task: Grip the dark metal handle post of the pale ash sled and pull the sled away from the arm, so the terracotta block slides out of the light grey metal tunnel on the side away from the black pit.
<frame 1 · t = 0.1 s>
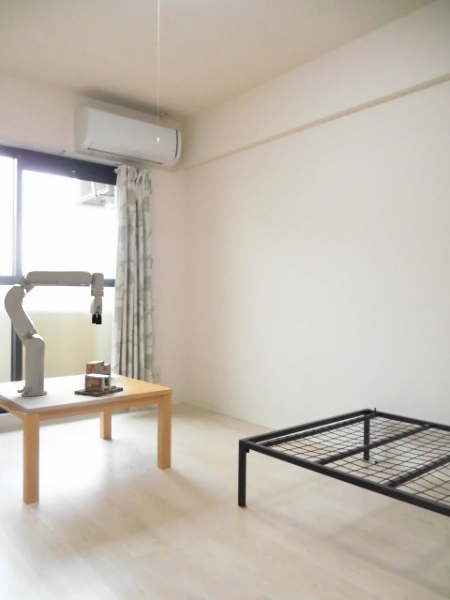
hand: (96, 324, 270), 37 cm above the table, tool pointing down, fingers open, 9 cm apart
tunnel: (97, 382, 260), on the track board, point 5 cm above the table
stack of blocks: (98, 380, 299), on the table
sled: (101, 381, 264), point 6 cm above the table, slide at 0.0 cm
track board: (97, 392, 260), on the table
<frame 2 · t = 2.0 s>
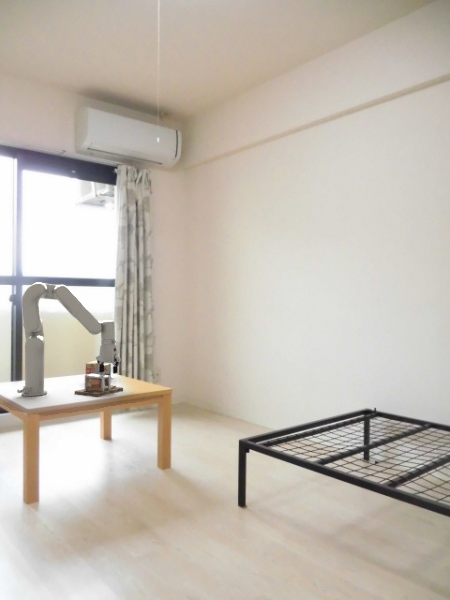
hand: (108, 372, 268), 10 cm above the table, tool pointing down, fingers open, 9 cm apart
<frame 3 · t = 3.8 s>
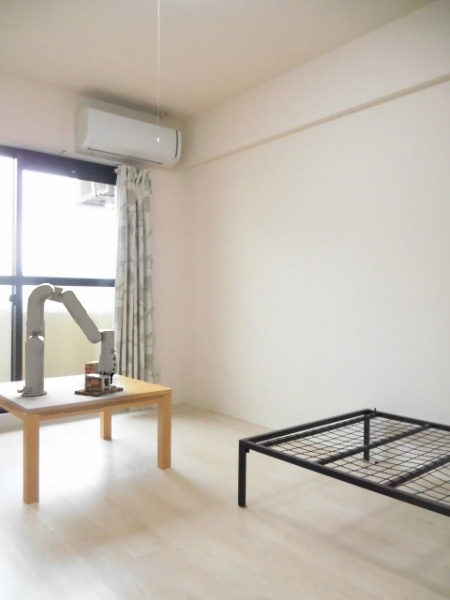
hand: (107, 383, 268), 4 cm above the table, tool pointing down, fingers closed on sled, 3 cm apart
sled: (101, 381, 264), point 6 cm above the table, slide at 0.0 cm, touching gripper
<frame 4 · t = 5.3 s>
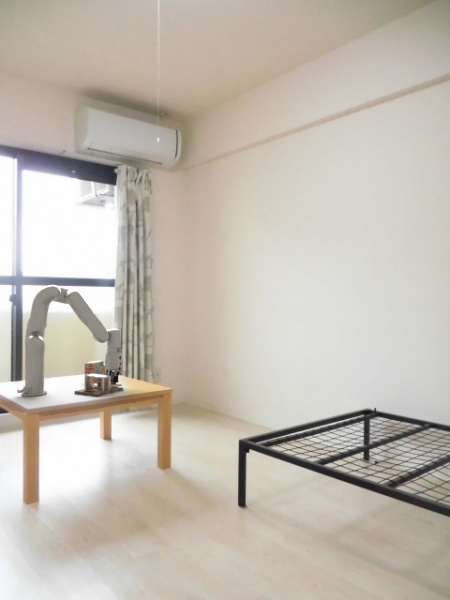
hand: (113, 382, 272), 4 cm above the table, tool pointing down, fingers closed on sled, 3 cm apart
sled: (108, 379, 268), point 6 cm above the table, slide at 5.1 cm, touching gripper
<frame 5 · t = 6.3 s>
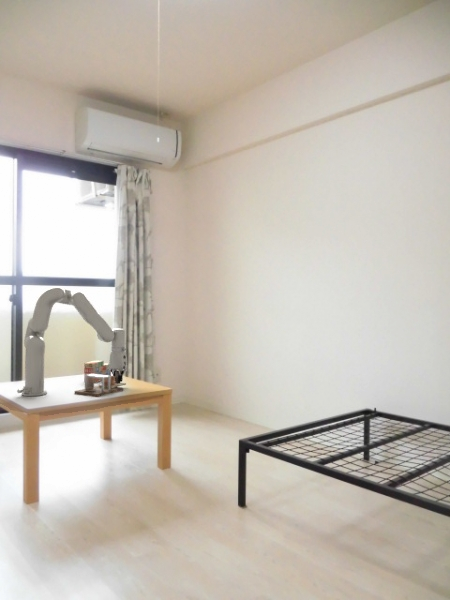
hand: (117, 381, 276), 4 cm above the table, tool pointing down, fingers closed on sled, 3 cm apart
sled: (112, 378, 272), point 6 cm above the table, slide at 8.9 cm, touching gripper
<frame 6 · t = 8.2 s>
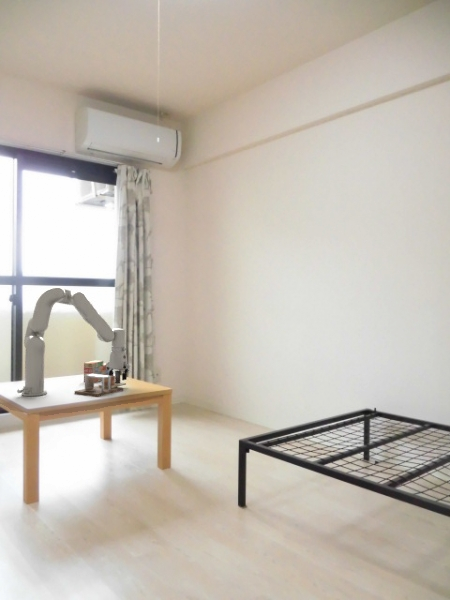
hand: (117, 379, 276), 5 cm above the table, tool pointing down, fingers open, 9 cm apart
sled: (112, 378, 272), point 6 cm above the table, slide at 9.0 cm
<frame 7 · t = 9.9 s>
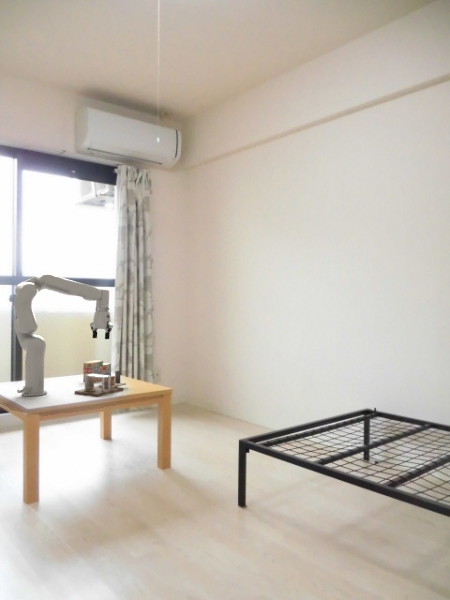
hand: (100, 338, 279), 28 cm above the table, tool pointing down, fingers open, 9 cm apart
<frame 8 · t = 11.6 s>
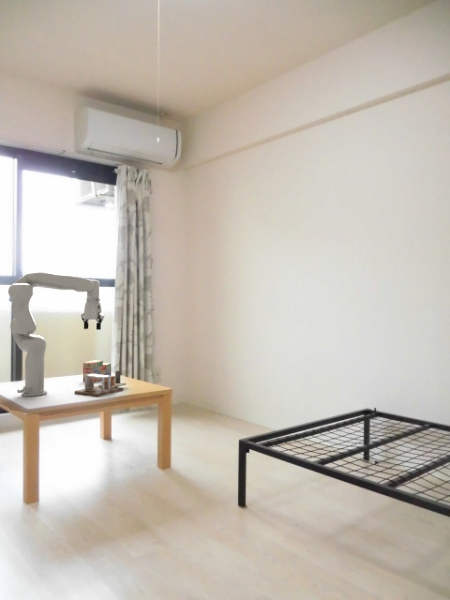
hand: (92, 329, 282), 33 cm above the table, tool pointing down, fingers open, 9 cm apart
at the end: sled slide at 9.0 cm; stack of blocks moved 2.7 cm from its start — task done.
